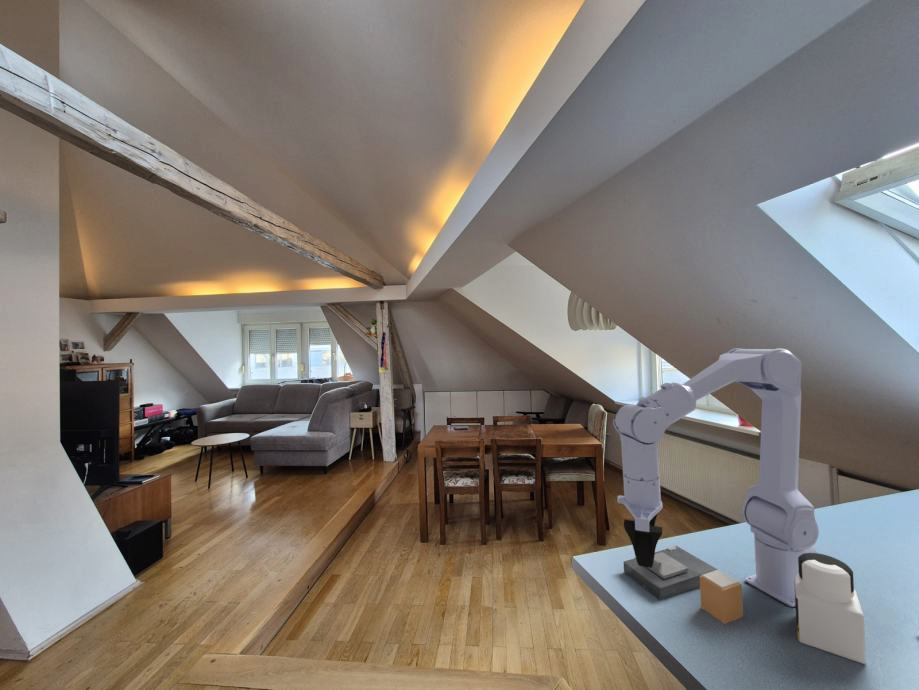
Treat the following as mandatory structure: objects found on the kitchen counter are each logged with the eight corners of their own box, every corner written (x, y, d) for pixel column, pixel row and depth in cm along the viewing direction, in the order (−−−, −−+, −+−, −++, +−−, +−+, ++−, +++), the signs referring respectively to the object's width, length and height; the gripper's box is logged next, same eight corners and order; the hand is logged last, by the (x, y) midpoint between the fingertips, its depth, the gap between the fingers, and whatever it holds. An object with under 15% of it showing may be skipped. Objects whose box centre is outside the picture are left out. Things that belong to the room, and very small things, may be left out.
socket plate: (677, 556, 81) (676, 544, 81) (717, 580, 73) (717, 567, 73) (624, 572, 77) (623, 560, 77) (660, 600, 68) (659, 586, 68)
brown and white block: (718, 600, 67) (717, 568, 67) (743, 616, 63) (741, 582, 63) (701, 607, 66) (699, 574, 66) (724, 624, 62) (722, 588, 62)
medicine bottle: (795, 614, 63) (792, 542, 63) (857, 633, 59) (854, 556, 58) (798, 642, 58) (794, 564, 57) (866, 666, 53) (862, 580, 53)
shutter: (662, 554, 78) (661, 542, 78) (688, 571, 72) (687, 558, 72) (639, 561, 76) (638, 549, 76) (663, 579, 70) (663, 565, 70)
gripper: (618, 460, 74) (622, 529, 74) (612, 487, 61) (617, 571, 61) (659, 463, 71) (663, 535, 71) (662, 493, 58) (667, 582, 58)
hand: (645, 553), depth 66 cm, fingers open, 7 cm apart
